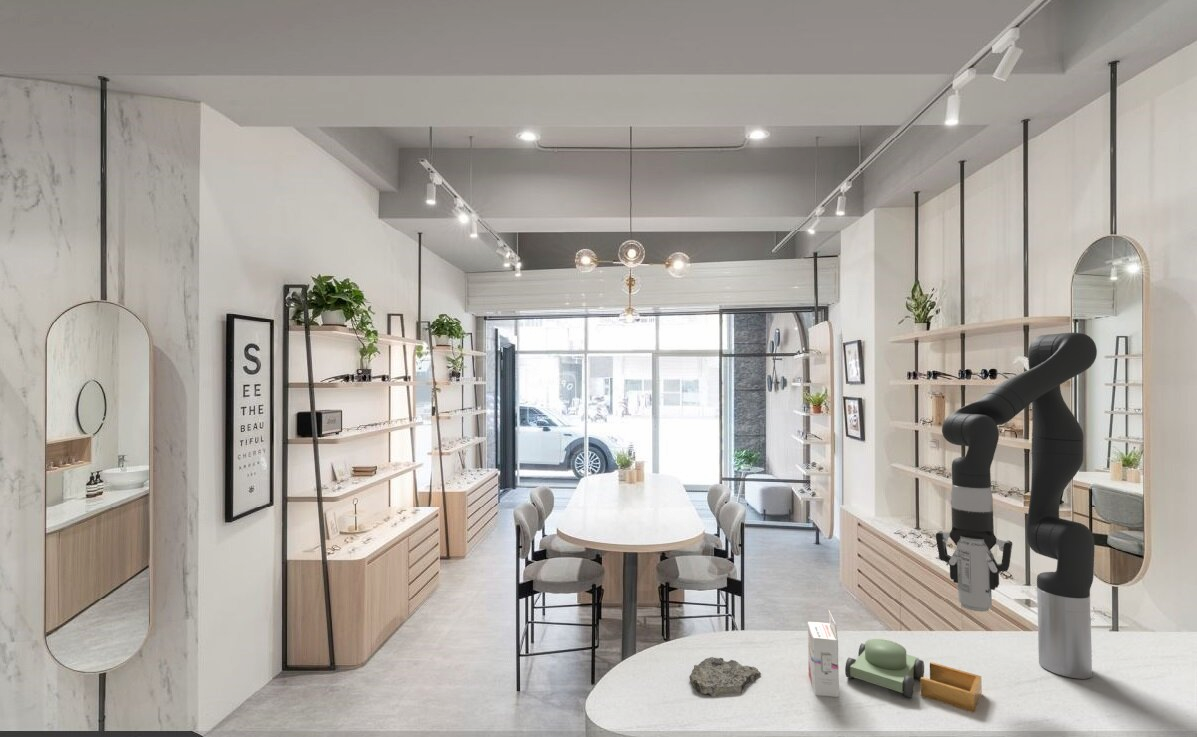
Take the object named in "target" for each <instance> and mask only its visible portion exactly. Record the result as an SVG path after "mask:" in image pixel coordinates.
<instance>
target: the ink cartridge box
mask: <svg viewBox="0 0 1197 737" xmlns="http://www.w3.org/2000/svg"><path fill="white" fill-rule="evenodd" d="M828 617H829V618H828V620H829V622H821V621H820V622H818V621H807V641H808V642H807V643H808V644H807V648H808V649H807V650H808V652H807V653H808V656H807V657H808V677H809V679H810V682H811V686H812V689H813V693H814V696H822V697H823V696H824V697H832V698H833V697H835V698H840V682H839V681H840V678H839V676H840V674H839V671H840V670H839V640H838V639H839V638H838V631H837V623H836V620H834V617H833V615H832V613H831V610H830V609H828Z"/></svg>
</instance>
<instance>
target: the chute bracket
mask: <svg viewBox="0 0 1197 737" xmlns="http://www.w3.org/2000/svg"><path fill="white" fill-rule="evenodd" d="M982 693H983V691H982V675H978V674H975V673H971V672H967V671H963V670H960V669H956V668H954V667H950V666H946V665H943V664H941V663H940V664H939V663H936V662H932V661H930V662H929V678H927V677H924V676H923V677H921V681H920V696H921V697H924V698H927V699H930V700H933V701H935V702H938V703H943V704H945V705H948V706H952V707H954V708H955V707H956V708H958V709H961V710H965V711H967V712H970V713H973V714H975V713H976V709H977V708H978V704H979V701H980V699H981V696H982V695H983V694H982ZM974 712H975V713H974Z"/></svg>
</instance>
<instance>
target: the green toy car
mask: <svg viewBox="0 0 1197 737" xmlns="http://www.w3.org/2000/svg"><path fill="white" fill-rule="evenodd" d="M844 670H845V671H844V672H845V677H846V678H848V679H851V680H855V678H856V679H859V680H861V681H865V682H868V683H871V684H874V685H877V686H881V687H883V688H886V689H890V690H892V691H896V692H899V693H901V694H902V695H903V696H904V697H906V698H910V699H912V698H913V695H914V692H915V680H916V681H917V680H918V681H920V682H921V677H924V676H925V662H924V660H922V659H919V657H917V656H914V655H910V654H907V649H906V647H904V646H903V645H901V644H899V643H898V642H894V641H892V640H887V639H883V638H882V639H881V638H872V639H871V638H870V639H868V640H866V641H865V642H864V643H861V644H860V645H859V648H858V656H857V658H856V659H855V658H852V657H848V658H847V660H846V662H845V669H844Z"/></svg>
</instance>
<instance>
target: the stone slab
mask: <svg viewBox="0 0 1197 737" xmlns="http://www.w3.org/2000/svg"><path fill="white" fill-rule="evenodd" d="M760 677H761V671H759V669H758V668H756V667H754V666H749V665H742V664H741V663H739V662H738V661H736V660H733V659H730V660H729V661H726V660H724V658H723V657H713V656H712V657H707V658H704V659H703V660H702V661H701V662H700V663H699V664H694V665H693V669H692V671H691V674H690V675H689V681H690V683H691V684H692V687H693V688H694V689H695V691H696V692H698V693H700V694H705V695H709V696H710V697H717V696H719V695H721V694H731V693H732V692H733V693H734V692H736V693H738V694H739V693H742V692H743V690H744V688H745V685H746V684H748V683H750V682H755V681H756V679H757V678H760Z"/></svg>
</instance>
